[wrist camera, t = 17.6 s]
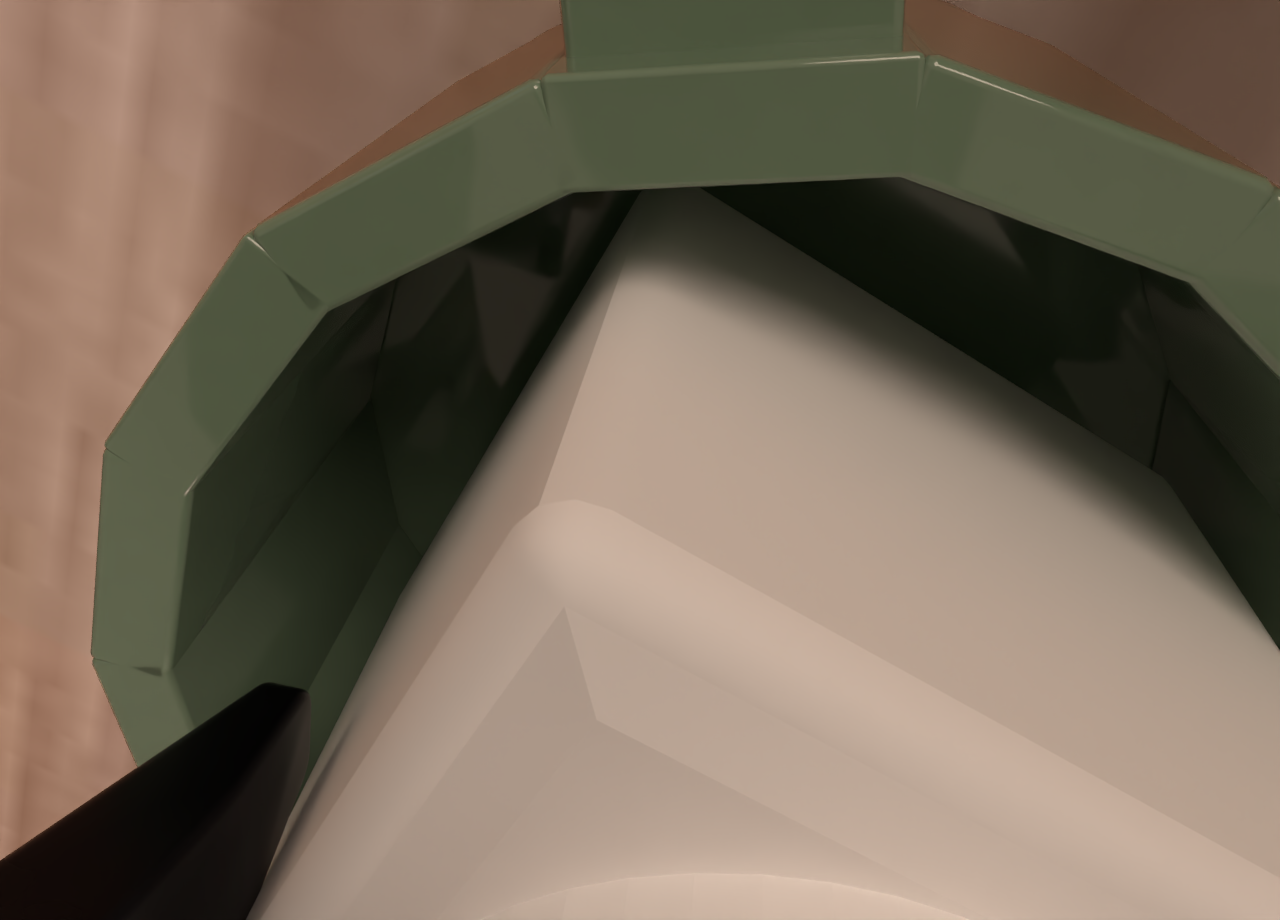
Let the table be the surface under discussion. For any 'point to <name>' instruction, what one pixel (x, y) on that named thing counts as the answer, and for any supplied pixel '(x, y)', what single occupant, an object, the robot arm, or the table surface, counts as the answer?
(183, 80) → the table surface
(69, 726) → the table surface
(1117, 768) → the medicine bottle
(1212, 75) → the table surface
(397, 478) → the cooking pot
